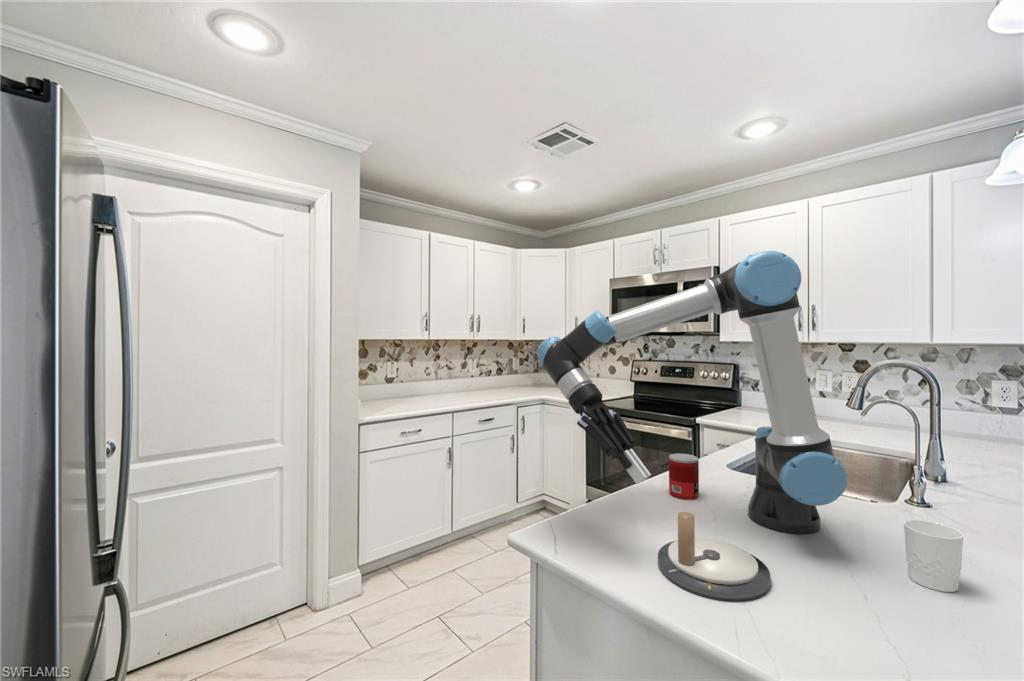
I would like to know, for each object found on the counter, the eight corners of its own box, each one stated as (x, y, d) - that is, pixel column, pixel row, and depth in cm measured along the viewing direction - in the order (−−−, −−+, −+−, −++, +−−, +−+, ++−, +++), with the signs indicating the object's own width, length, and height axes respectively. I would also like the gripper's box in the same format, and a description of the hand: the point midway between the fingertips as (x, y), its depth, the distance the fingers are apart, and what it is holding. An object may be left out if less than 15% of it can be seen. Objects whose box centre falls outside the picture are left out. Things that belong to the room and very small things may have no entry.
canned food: (701, 500, 121) (701, 461, 121) (671, 499, 123) (670, 460, 123) (695, 491, 129) (695, 453, 128) (667, 489, 130) (666, 452, 130)
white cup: (892, 571, 84) (892, 520, 84) (930, 569, 85) (930, 518, 85) (935, 596, 76) (935, 539, 76) (976, 593, 77) (976, 537, 77)
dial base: (746, 548, 94) (746, 540, 94) (791, 605, 74) (790, 596, 74) (650, 543, 97) (650, 535, 97) (668, 596, 77) (668, 587, 77)
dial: (740, 544, 92) (739, 497, 92) (773, 587, 77) (772, 531, 76) (661, 539, 95) (661, 494, 95) (677, 581, 79) (677, 526, 79)
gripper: (590, 398, 109) (650, 481, 97) (551, 405, 100) (613, 497, 88) (607, 379, 105) (672, 462, 93) (569, 384, 96) (635, 477, 84)
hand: (643, 479), depth 90 cm, fingers closed
